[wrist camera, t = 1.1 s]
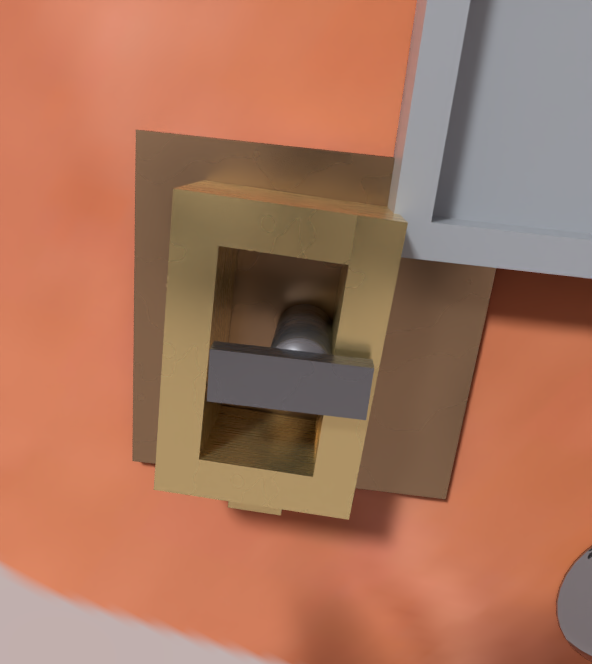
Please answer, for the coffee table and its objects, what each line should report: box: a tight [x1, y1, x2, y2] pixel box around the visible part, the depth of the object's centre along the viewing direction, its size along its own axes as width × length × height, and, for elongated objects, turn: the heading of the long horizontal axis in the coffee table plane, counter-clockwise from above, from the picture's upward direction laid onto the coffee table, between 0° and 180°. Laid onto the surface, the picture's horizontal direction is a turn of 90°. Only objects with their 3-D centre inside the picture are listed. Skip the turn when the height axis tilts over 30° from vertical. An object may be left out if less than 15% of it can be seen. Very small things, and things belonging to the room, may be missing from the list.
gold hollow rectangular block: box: [154, 180, 408, 520], centre depth 17 cm, size 10×6×3 cm, turn 172°
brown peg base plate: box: [133, 130, 496, 499], centre depth 16 cm, size 11×11×5 cm
